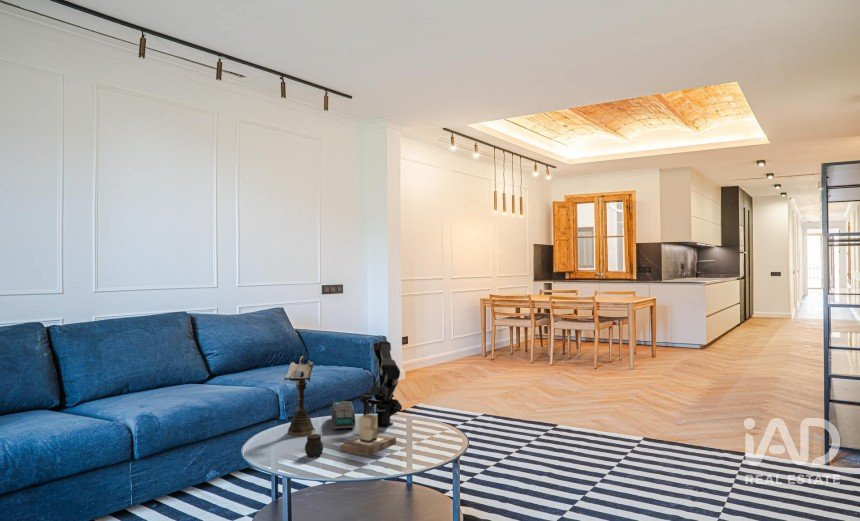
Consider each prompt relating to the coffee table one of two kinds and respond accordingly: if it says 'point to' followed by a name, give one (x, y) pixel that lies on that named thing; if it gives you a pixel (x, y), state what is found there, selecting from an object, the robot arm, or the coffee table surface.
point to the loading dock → (367, 445)
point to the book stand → (300, 398)
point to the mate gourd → (313, 445)
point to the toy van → (343, 415)
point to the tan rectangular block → (368, 427)
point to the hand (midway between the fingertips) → (372, 420)
